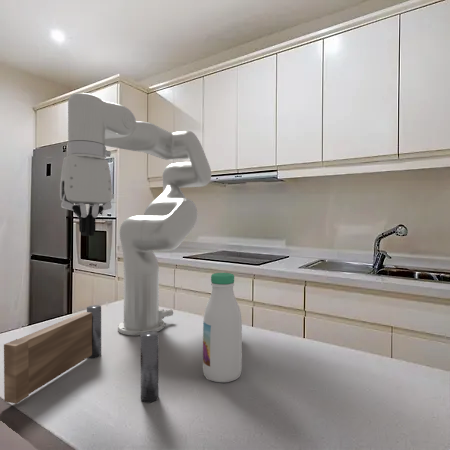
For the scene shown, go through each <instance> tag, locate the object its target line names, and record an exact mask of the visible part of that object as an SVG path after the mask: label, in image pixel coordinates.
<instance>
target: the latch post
mask: <svg viewBox="0 0 450 450" xmlns="http://www.w3.org/2000/svg"><path fill="white" fill-rule="evenodd" d="M158 399H159V332H153V331H149V332H144V333H142V334H141V335H140V400H141V402H143V403H153V402H156V401H157V400H158Z"/></svg>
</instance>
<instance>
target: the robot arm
mask: <svg viewBox="0 0 450 450" xmlns="http://www.w3.org/2000/svg"><path fill="white" fill-rule="evenodd" d="M67 100H68V101H67V102H68V103H67V122H68V123H67V128H68V129H67V133H68V134H67V144H68V145H67V146H68V147H67V148H68V150H67V151H68V152H67V153H68V154H67V155H68V156H64V158H63V161H62V165H61V174H60V182H59V183H60V184H59V199H60V201H61V203H60V208H63V209H65V210H69V211H72V212H73V213H74V214H75V215H76V216H77V218H78V225H79V226H78V230H79V233H80V234H81V236H83V237H89V236H91V237H93V236H94V235H95V233H96V218H97V217H98V215H99V214H100V213H102V211H106V210H111V209H112V198H113V188H112V187H113V185H112V176H111V175H112V174H111V170H110V165H109V161H108V160H106V159H107V157H108V158H110V157H111V155H112V153H111V151H110V150H107V147H109V148H114V149H120V150H125V151H132V152H140V153H144V154H147V155H150V156H154V157H155V158H159V159H161V160H166V161H176V160H177V161H178V160H187V159H188V160H189V161H183V162H180V161H179V162H174V163H170V164H169V165H167V166H165V168H164V169H163V172H162V192H161V193H160V194H159V195H158V196H157V197H155V199H154V200H153V201H151V202H150V203H149V205H148V206H147V207H146V209H145V211H144V212H143V213H144V214H143V215H134V216H130V217H127V218H125V220H123V222H122V223H121V224H120V228H119V239H120V244H121V248H122V249H121V250H122V257H123V259H122V260H123V321H121V322H120V323H119V324H118V325H117V331H118V332H119V333H121V334H123V335H126V336H141V334H142V333H144V332H149V331H153V332H157V333H159V332H160V331H161V330H163V329H164V328H165V322H164V319H165V318H166V317H167V318H168V317H171V316H173V315H174V310H173V309H171V308H170V309H166V310H165V309H164V308H163V309H160V304H159V303H160V300H159V298H160V297H159V296H160V295H159V293H160V291H159V290H160V287H159V285H160V283H159V281H160V280H159V279H160V277H159V275H160V274H159V273H160V268H159V267H160V266H159V262H158V258H157V257H156V255H155V253H154V251H159V252H160V251H161V252H162V251H163V252H168V251H169V252H170V251H174V250H176V249H177V248H178V247H179V246H180V245H181V244H182V243H183V242H184V241H185V239H186V238H187V236H189V234H190V233H191V232H192V230H193V228H195V225H196V223H197V219H198V208H197V205H196V204H195V202H194V201H193V200H191V199H190V198H188V197H186V196H185V193H184V192H183V191H182V190H181V188H195V187H196V188H202V187H206V186H208V184H210V182H211V181H212V170H211V166H210V163H209V161H208V159H207V156H206V153H205V151H204V148H203V145H202V143H201V141H200V140H199V138H198V136H197V135H196V134H195V133H194V132H193V131H191V130H183V131H173V132H172V131H169V130H166V129H164V128H162V127H160V126H157V124H154V123H152V122H148V121H147V122H146V121H138V120H136V116H135V114H134V113H133V112H132V110H131V109H129V108H128V107H127V106H124V105H123V104H118V103H114V102H111V101H105V100H103V99H102V98H100V97H99V96H97V95H95V94H91V93H86V92H85V93H84V92H77V93H73V94H71V95H70V96H69V98H68V99H67ZM86 205H88V210H87V206H86Z"/></svg>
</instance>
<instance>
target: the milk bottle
mask: <svg viewBox="0 0 450 450" xmlns="http://www.w3.org/2000/svg"><path fill="white" fill-rule="evenodd" d="M210 282H211V288H212V289H211V293H210V297H209V299H208V301H207V304H206V306H205V308H204V313H203V321H202V322H203V323H202V324H203V325H202V335H203V336H202V371H203V376H204V377H205V379H207V380H209V381H212V382H215V383H229V382H232V381H236V380H237V379H239V378H240V376H241V374H242V368H243V365H242V364H243V363H242V362H243V355H242V353H243V351H242V349H243V345H242V344H243V333H242V332H243V326H242V324H243V323H242V322H243V320H242V312H241V309H240V305H239V303H238V301H237V298H236V296H235V291H234V286H235V274H233V273H230V272H216V273H212V274H211V276H210Z"/></svg>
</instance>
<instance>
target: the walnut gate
mask: <svg viewBox="0 0 450 450" xmlns="http://www.w3.org/2000/svg"><path fill="white" fill-rule="evenodd" d="M91 355H92V313H91V312H87V311H83V312H81V313H78V314H76V315H72V316H71V317H69V318H66V319H64V320H61V321H59V322H56V323H54V324H51V325H49V326H46V327H45V328H42V329H40V330H37V331H34V332H32V333H29V334H27V335H24V336H23V337H20V338H16V339H14V340H11V341H8V342H6V343H3V379H4V380H3V383H4V385H3V386H4V390H3V392H4V397H3V398H4V402H5V403H11V404H15V405H17V404H18V403H20V402H21V401H23V400H25V399H27V398H28V397H29V396H30V394H32V393H33V392H35V391H36V390H39V389H40V388H42V387H43V386H45V385H46V384H48V383H49V382H51V381H53V380H54V379H55V378H58V377H59V376H61V375H62V374H64V373H65V372H67V371H69V370H70V369H72V368H73V367H75V366H77V365H78V364H80V363H81V362H83V361H84V360H86V359H89V358H88V357H90V356H91Z"/></svg>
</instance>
